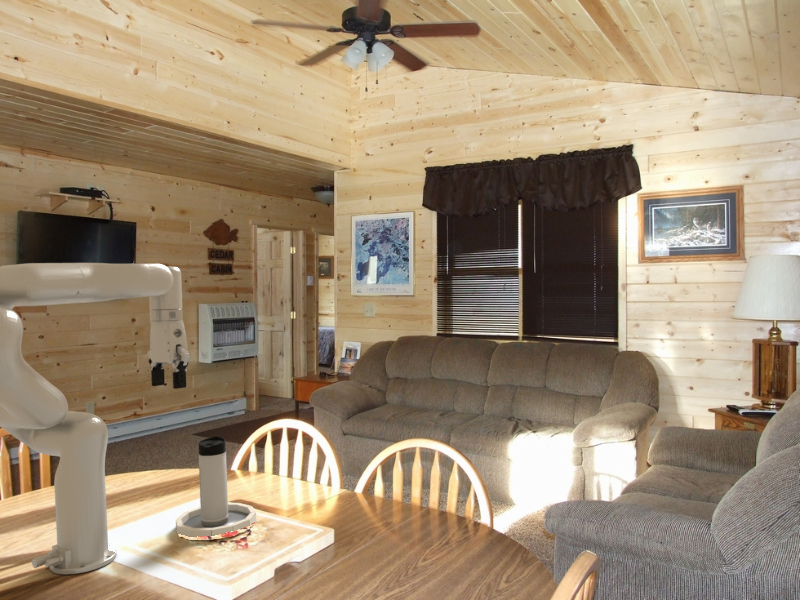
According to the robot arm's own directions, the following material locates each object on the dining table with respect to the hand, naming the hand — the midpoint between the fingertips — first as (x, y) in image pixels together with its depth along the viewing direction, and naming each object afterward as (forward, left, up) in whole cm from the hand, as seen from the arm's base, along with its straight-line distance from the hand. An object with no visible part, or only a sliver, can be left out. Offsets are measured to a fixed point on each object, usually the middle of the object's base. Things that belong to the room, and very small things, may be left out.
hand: (168, 386), depth 155 cm
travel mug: (+3, -11, -33) cm, 35 cm away
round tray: (+4, -12, -33) cm, 35 cm away
